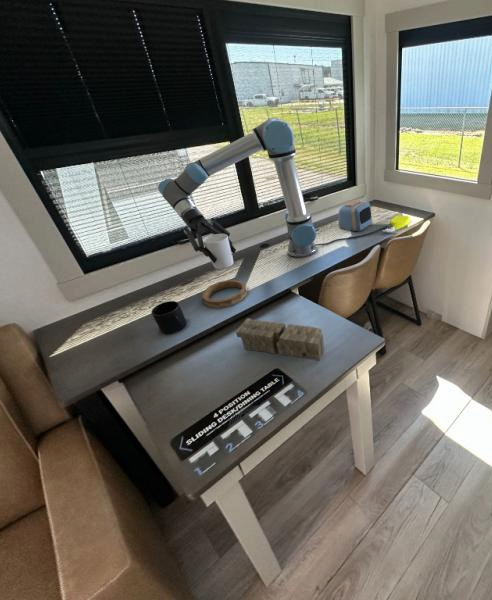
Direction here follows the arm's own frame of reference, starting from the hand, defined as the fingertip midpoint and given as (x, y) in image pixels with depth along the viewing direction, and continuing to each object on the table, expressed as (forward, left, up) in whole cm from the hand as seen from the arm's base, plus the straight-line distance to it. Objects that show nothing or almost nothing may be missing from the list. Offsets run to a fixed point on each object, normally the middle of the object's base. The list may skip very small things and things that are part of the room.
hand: (225, 256), depth 130 cm
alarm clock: (-75, -51, -18) cm, 93 cm away
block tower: (-14, +45, -18) cm, 50 cm away
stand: (+5, 0, -18) cm, 19 cm away
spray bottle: (-98, -38, -18) cm, 106 cm away
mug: (+24, +16, -18) cm, 34 cm away
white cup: (+2, -3, -5) cm, 6 cm away
